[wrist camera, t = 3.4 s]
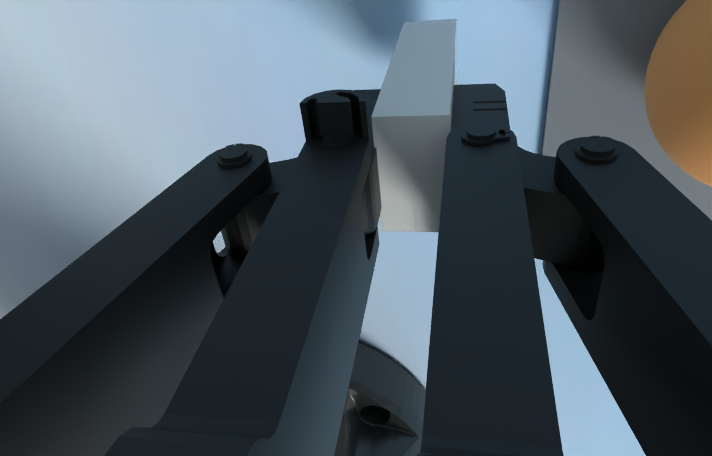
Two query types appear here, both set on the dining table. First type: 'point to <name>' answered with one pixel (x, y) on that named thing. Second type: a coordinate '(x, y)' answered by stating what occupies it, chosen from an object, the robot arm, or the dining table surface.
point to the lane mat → (611, 81)
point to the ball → (683, 89)
